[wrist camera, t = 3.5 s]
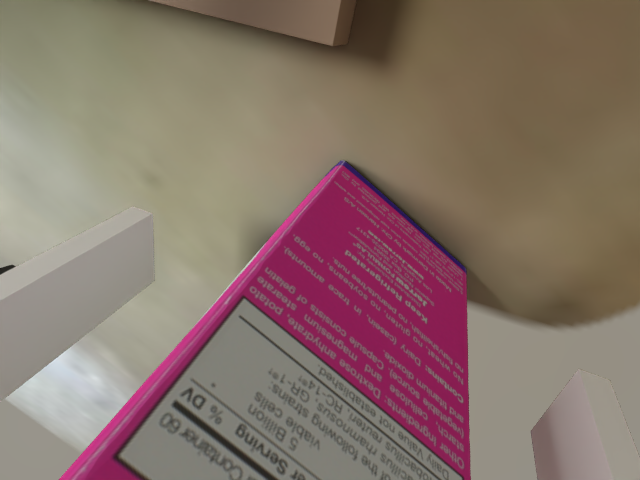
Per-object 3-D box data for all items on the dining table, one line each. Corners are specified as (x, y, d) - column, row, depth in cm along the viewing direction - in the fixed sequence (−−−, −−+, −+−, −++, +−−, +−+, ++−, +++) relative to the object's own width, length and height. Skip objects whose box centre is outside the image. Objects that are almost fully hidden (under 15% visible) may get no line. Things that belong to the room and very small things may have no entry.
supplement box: (366, 350, 17) (220, 797, 7) (256, 256, 16) (-58, 591, 7) (477, 270, 13) (490, 884, 4) (344, 152, 13) (-10, 499, 3)
